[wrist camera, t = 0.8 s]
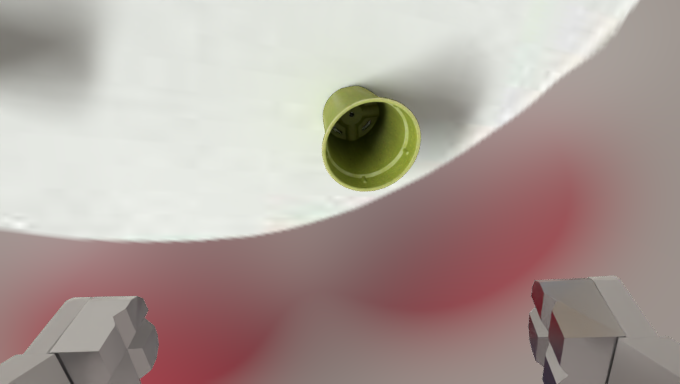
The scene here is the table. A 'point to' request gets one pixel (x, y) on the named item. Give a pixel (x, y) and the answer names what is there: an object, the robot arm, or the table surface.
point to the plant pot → (368, 139)
